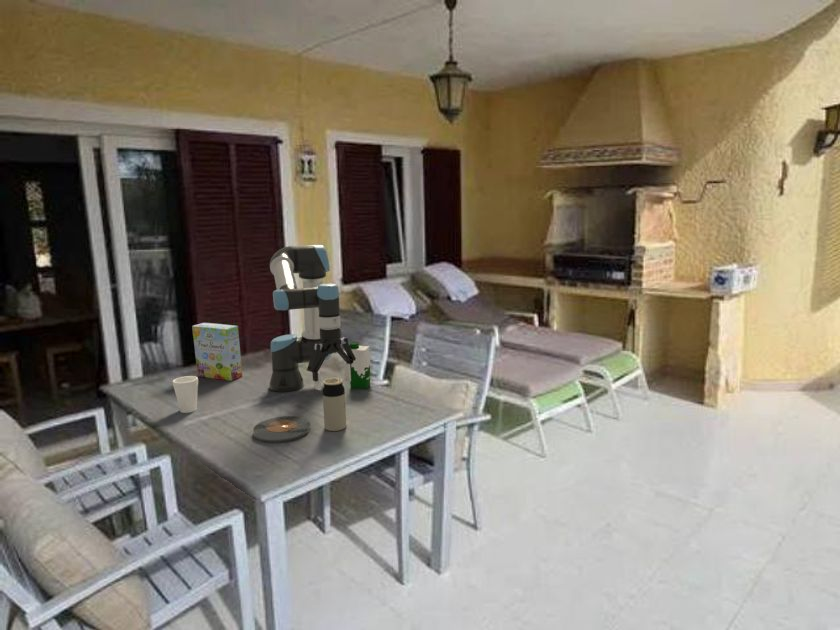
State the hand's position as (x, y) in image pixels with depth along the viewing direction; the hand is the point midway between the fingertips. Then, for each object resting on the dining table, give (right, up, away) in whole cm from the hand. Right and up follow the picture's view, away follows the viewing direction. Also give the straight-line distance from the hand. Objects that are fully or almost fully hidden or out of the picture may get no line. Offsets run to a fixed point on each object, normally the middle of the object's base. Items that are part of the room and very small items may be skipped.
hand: (333, 384), depth 203 cm
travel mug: (0, -16, +4) cm, 17 cm away
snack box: (-66, -5, +69) cm, 96 cm away
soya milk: (+5, -7, +50) cm, 51 cm away
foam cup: (-63, -14, +25) cm, 69 cm away
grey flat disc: (-19, -17, +1) cm, 25 cm away
